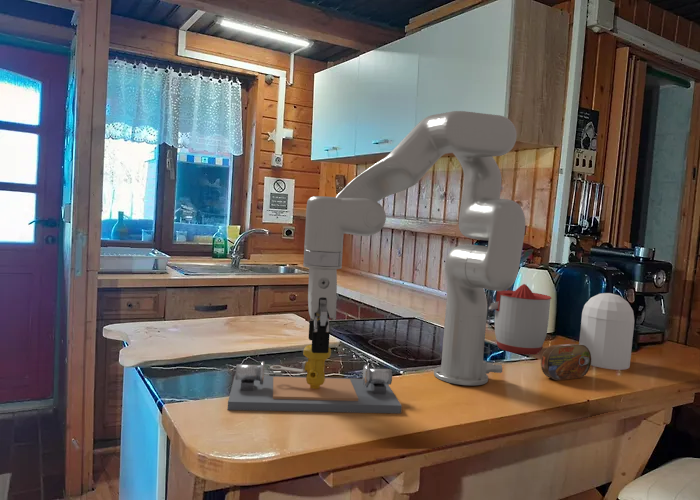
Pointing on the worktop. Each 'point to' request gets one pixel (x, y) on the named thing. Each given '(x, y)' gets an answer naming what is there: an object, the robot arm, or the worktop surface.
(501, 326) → the citrus juicer
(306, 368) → the pressure relief valve
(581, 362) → the tin
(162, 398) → the worktop surface
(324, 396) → the pipe rig base
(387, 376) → the pipe stubs
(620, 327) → the container
